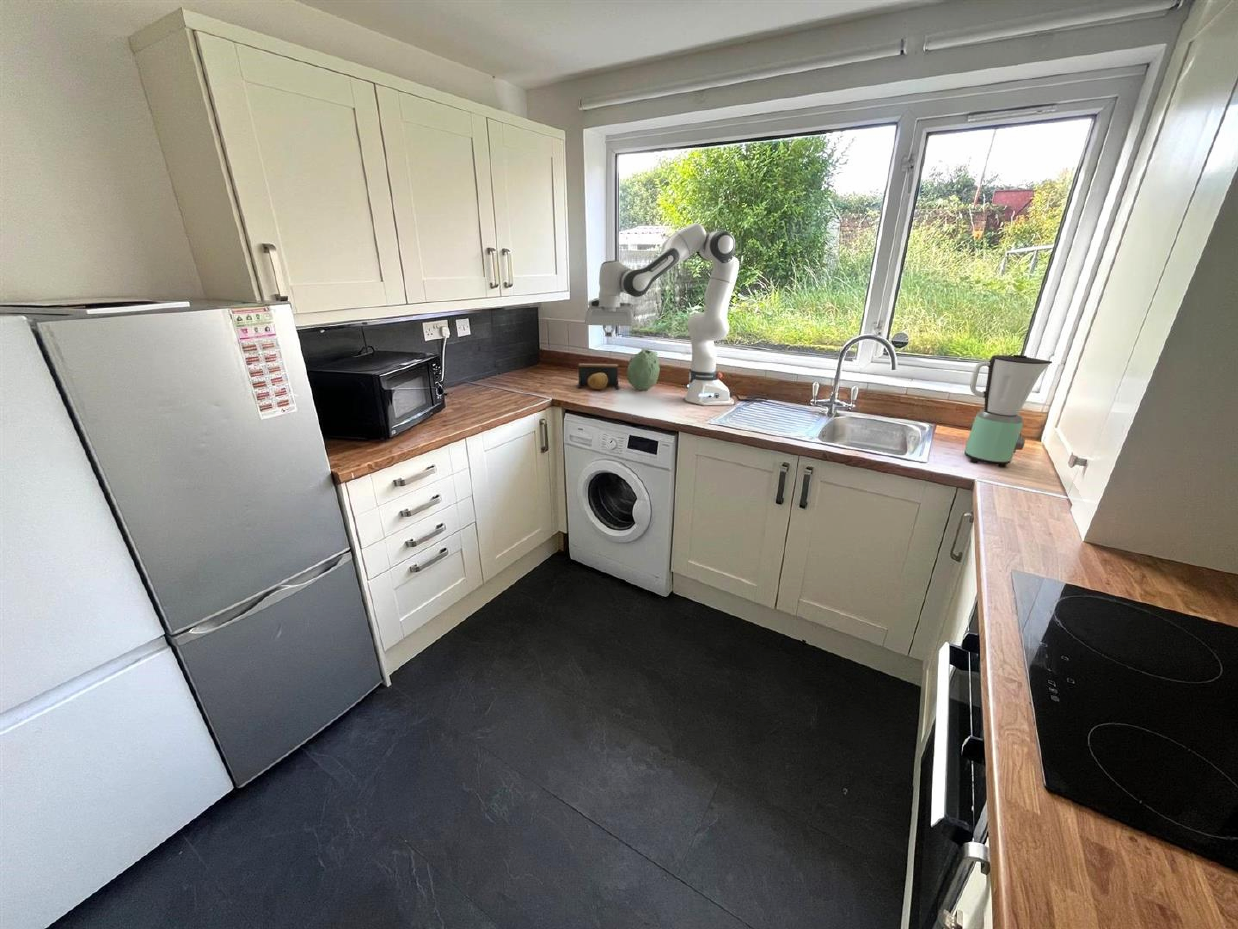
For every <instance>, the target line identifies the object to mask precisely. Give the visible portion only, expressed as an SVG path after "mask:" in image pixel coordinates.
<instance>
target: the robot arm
mask: <svg viewBox="0 0 1238 929" xmlns="http://www.w3.org/2000/svg"><path fill="white" fill-rule="evenodd" d="M660 252H661V253H660V254H659V255H658V257H656V258H655V259H654V260H652V261H651V262H650V263H649V264H647V265H645V266H644V267H642V268H638V269H633V268H632V269H631V268H630V267H628V266H626V265H624V264H623V263H622V262H621V261H620V260H619V259H613V260H606V261H604V262H603V263H602V264H600V266H599V277H598V285H599V292H598V297H596V298H594V299H590V300H588V301H587V305H588V307H587V308H586V310H585V316H584V324H585V325H586V326H602V329H603V331H604V337H606V338H607V337H608V338H610V337H611V338H612V337H613V333H614V331H615V330H616V327H632V326H633V325H634V316H633V314H634V313H635V306H634V305H633V304H632V303H630V302H621V293H623V294H625V295H629V296H632V297H635V298H639V297H642V296H644V295H645V294H647V292H648V291H649V289H651V287H652V285H653V283H654V282H655V281H656V280H657V279H659V278H660V277H662V276H663V275H664V274H666V272H667V271H669V270H670V269H672V268H673V267H675V266H677V265H679V264H681V263H683V262H684V261H685V260H687V259H688V258H690V257H691V256H693V255H694V254H697V256H698V257H699V258H700V259H702V260H704V261H712V271H711V274H710V277H709V280H708V283H707V286H706V289H705V291H704V296H703V298H704V302H705V303H704V304H705V307H704V312H697V313H694V314H692V315H691V316H690V317H689V318H688V320H687V322H686V328H687V331H688V333H689V337H690V342H691V343H690V344H691V364H690V370H689V373H688V374H689V375H688V382H689V383H688V384H687V392H686V394H685V397H684V400H685V401H686V402H687V403H692V404H697V405H701V406H728V405H729V406H730V405H731V406H732V405H734V404H735V400H734V399H733V396H735V397H736V400H737V401H741V402H746V401H752V400H757V399H759V398H754V397H749V398H740V397H739V395H738V394H737V393H734V392H733V391H731V390H730V389H729V388H728V386H726V385H725V383H724V382H723V381H721V380H720V379H722V377H723V374H722V373H721V372H718V371H717V370H716V369H717V368H716V367H717V359H718V352H717V350H716V348H715V347H716V346H715V343H714V342H720V341H723V340H724V339H725V338H727V336H728V334H729V331H730V324H729V322H728V321H729V320H728V312H729V305H730V300H731V298H732V294H733V291H734V287H735V285H736V282H737V278H738V273H739V267H740V261H739V260H738V259H737V257H735V255H736V240H735V236H734V235H733V234H732V233H731V232H729V231H727V230H715V231H712V232H707V231H706V230H705V228H704V227H703V225H702V224H700V223H698V222H693V223H690V224H688V225H685V226H684V227H682V228H680V229H679V230H677V231H676V232H674V233H673V234H671V236H669V237H668V238H666V240H665V241H664V242H663V243H662V245H661V248H660ZM607 326H608V327H609V326H610V327H611V330H610V331H607ZM763 399H764V400H765V401H769V399H768V397H766V398H763Z"/></svg>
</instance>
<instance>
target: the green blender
mask: <svg viewBox="0 0 1238 929" xmlns="http://www.w3.org/2000/svg"><path fill="white" fill-rule="evenodd" d="M1052 363H1053V361H1052V360H1045V359H1040V358H1033V357H1028V355H1023V354H1013V355H1005V354H1003V355H1001V354H996V355H992V357H991V358H990V360H985V361H980V362H978V363H977V364H976V365H975V367H974V369H973V370H972V371H973V372H972V374H971V379H970V382H969V389H970V392H971V394H973V395H975V396H976V397H980V398H983V399H984V408H983V409H981V410H979V411H978V412H977V413H976V415H975V417H974V419H973V422H972V426H971V429H970V432H969V435H968V438H967V442H966V445H965V448H964V455H965V456H966V457H967V458H968V459H970V463H973V464H979V462H980V463H983V464H988V465H996V466H997V467H999V468H1004V469H1005V468H1006V466H1007V465H1009V464H1010V463H1011V462H1012V461H1013V457H1014V454H1016V451H1018V450H1019V451H1022V450H1023V448H1024V446H1025V443H1026V438H1025V437H1023V436H1022V430H1023V426H1024V419H1023V416H1022V415H1021V414H1020V412H1021V410H1022V409H1023V406H1024V405H1025V403H1026V401H1027V399H1028V398H1029V396H1030V394H1031V392H1032V390H1033V389H1034V386H1035V385H1036V383H1037V382H1038V379H1039V377H1040V376H1041V375H1042V373H1043V372H1044V371H1045V370H1046V369H1047V368H1048V367H1049V366H1050V364H1052ZM982 367H987V368H988V371H987V379H986V385H985V390H983V391H979V390H977V381H978V377H979V374H980V371H981V368H982Z"/></svg>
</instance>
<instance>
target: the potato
mask: <svg viewBox="0 0 1238 929" xmlns="http://www.w3.org/2000/svg"><path fill="white" fill-rule="evenodd" d="M607 383H608V378H607V375H606V374H605V373H596V374H593V375H591V376H590V377H589V378H588V385H587V386H589V388H591V389H593V390H603V389H605V388H606V387H608V386H607Z"/></svg>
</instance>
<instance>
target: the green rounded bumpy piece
mask: <svg viewBox="0 0 1238 929" xmlns="http://www.w3.org/2000/svg"><path fill="white" fill-rule="evenodd" d="M658 354H659V353H658V352H657V351H655V350H654V351H653V350H649V349H647V348H645V347H643V348H641V351H639V352H637V353H635V354H634V356H633V357H632V356H631V357H630V359H629V363H628V365H627V370H626V378H627V381H628V383H629V384H630V386H631V387H632V388H633V389H635V390H638V391H640V392H641V391H648V390H650V389H651V388H653V387H654V386H655V385H656V383H657V381H658V380H659V376H660V371H661V368H660V359H659V357H658Z"/></svg>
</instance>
